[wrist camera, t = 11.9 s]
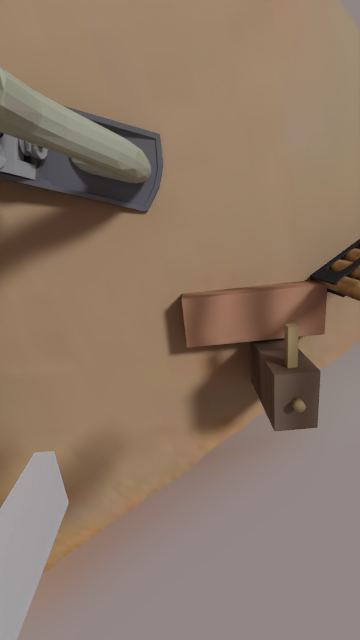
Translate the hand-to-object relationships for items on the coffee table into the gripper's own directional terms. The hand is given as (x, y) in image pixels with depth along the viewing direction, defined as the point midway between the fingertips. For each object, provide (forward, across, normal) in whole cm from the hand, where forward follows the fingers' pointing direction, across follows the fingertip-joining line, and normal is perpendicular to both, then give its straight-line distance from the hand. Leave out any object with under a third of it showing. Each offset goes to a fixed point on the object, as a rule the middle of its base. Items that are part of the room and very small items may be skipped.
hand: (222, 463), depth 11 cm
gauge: (+22, +9, -5) cm, 24 cm away
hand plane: (+23, -17, +18) cm, 34 cm away
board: (+22, +7, -1) cm, 23 cm away
